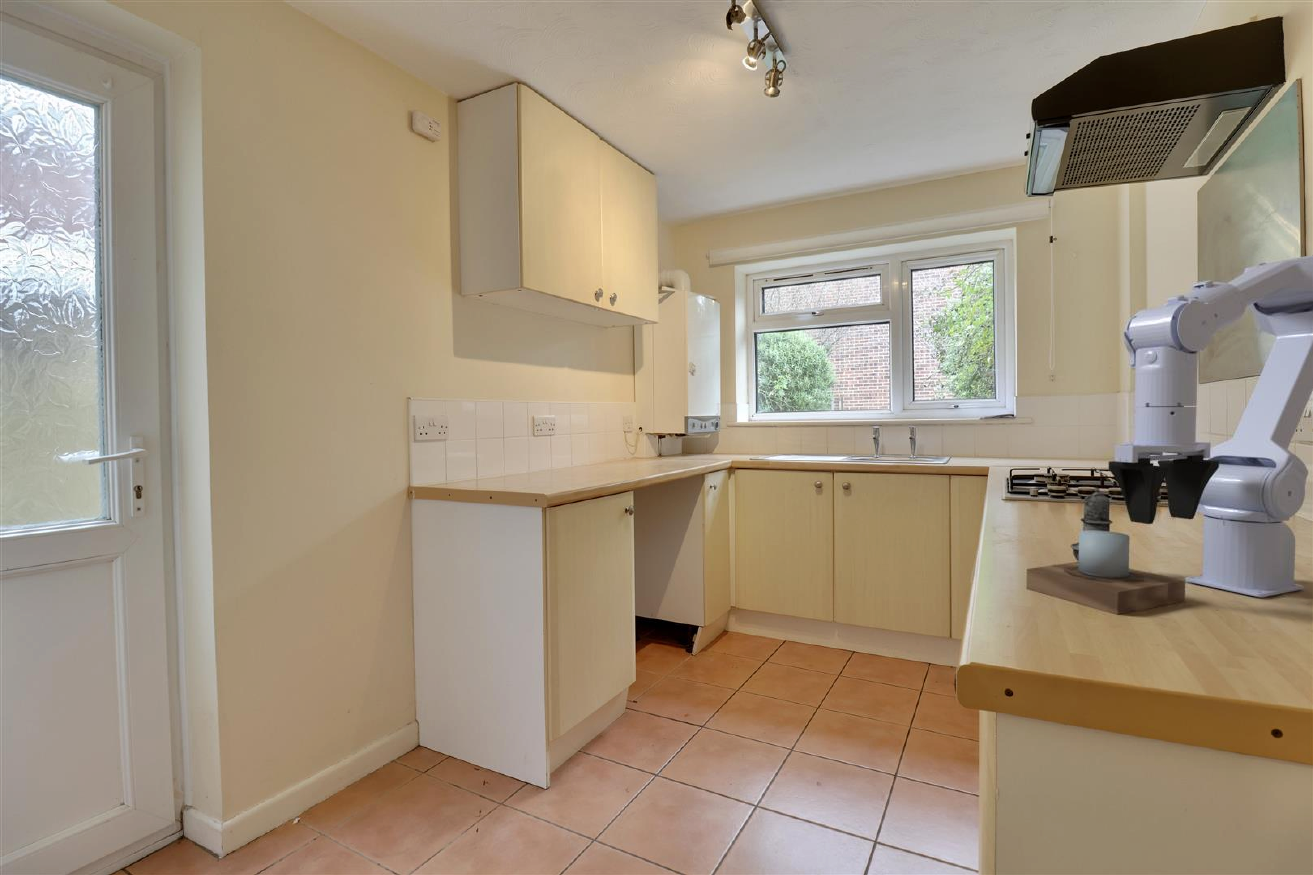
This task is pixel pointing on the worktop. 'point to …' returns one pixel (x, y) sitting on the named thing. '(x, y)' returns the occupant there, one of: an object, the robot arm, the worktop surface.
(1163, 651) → the worktop surface
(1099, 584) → the board
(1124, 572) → the peg
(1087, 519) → the grey flared cylinder
